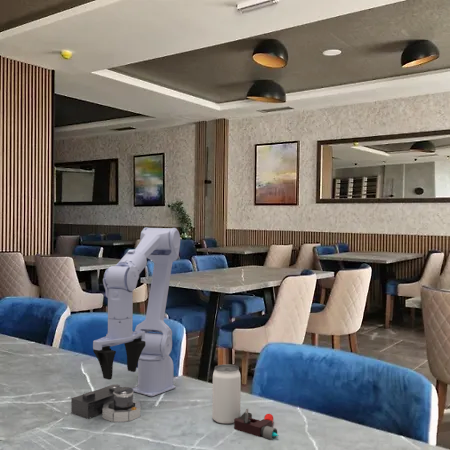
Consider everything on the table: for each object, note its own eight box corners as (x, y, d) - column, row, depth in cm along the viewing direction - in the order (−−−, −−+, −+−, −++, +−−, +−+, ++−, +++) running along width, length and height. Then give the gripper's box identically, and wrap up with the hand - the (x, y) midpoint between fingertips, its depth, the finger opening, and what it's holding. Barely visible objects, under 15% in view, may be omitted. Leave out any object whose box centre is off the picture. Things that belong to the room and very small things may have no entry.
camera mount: (113, 398, 138) (113, 380, 138) (155, 411, 129) (155, 392, 129) (71, 412, 128) (71, 393, 128) (113, 428, 119) (113, 407, 119)
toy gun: (274, 444, 112) (274, 421, 112) (228, 430, 119) (228, 408, 119) (297, 429, 120) (297, 407, 120) (252, 417, 127) (252, 396, 127)
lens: (127, 410, 130) (128, 385, 130) (136, 416, 126) (137, 391, 126) (110, 414, 127) (110, 388, 127) (118, 420, 123) (118, 394, 123)
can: (224, 412, 129) (224, 362, 129) (245, 418, 125) (246, 367, 125) (206, 419, 124) (207, 368, 124) (228, 427, 120) (228, 373, 120)
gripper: (130, 311, 135) (130, 365, 135) (84, 319, 123) (84, 378, 123) (151, 314, 131) (151, 370, 131) (105, 323, 119) (104, 384, 119)
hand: (119, 374), depth 127 cm, fingers open, 7 cm apart
